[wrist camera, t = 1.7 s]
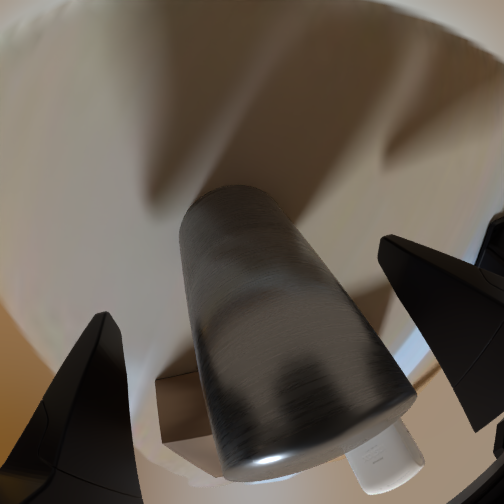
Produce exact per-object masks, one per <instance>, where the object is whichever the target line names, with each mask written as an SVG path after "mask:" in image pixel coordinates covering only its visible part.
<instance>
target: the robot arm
mask: <svg viewBox="0 0 504 504" xmlns="http://www.w3.org/2000/svg"><path fill="white" fill-rule="evenodd" d="M378 262H379V264H380V266H381V268H382V269H383V271H384V273H385V275H386V277H387V278H388V280H389V282H390V284H391V286H392V287H393V289H394V291H395V293H396V295H397V296H398V298H399V300H400V301H401V303H402V304H403V306H404V307H405V309H406V310H407V312H408V313H409V315H410V316H411V318H412V320H413V321H414V323H415V324H416V326H417V327H418V329H419V331H420V332H421V334H422V336H423V337H424V339H425V340H426V342H427V344H428V345H429V347H430V349H431V350H432V352H433V354H434V356H435V357H436V359H437V361H438V362H439V364H440V366H441V368H442V369H443V371H444V373H445V375H446V377H447V379H448V380H449V382H450V384H451V386H452V387H453V390H454V392H455V394H456V396H457V398H458V399H459V402H460V403H461V405H462V407H463V409H464V412H465V414H466V416H467V418H468V420H469V422H470V424H471V426H472V428H473V430H474V432H475V433H476V432H478V431H479V430H480V429H482V428H483V427H485V426H486V425H487V424H489V423H490V422H491V421H492V420H494V419H495V418H496V417H497V416H499V415H500V414H501V413H503V412H504V217H503V218H501V219H499V220H497V221H494V222H493V223H492V224H491V225H490V227H489V229H488V232H487V236H486V239H485V241H484V244H483V247H482V250H481V253H480V255H479V258H478V261H477V263H476V266H475V265H472V264H470V263H467V262H465V261H462V260H460V259H457V258H455V257H452V256H450V255H447V254H445V253H442V252H439V251H437V250H434V249H432V248H429V247H426V246H423V245H421V244H418V243H415V242H413V241H410V240H407V239H404V238H401V237H398V236H396V235H393V234H390V235H386V236H383V237H382V238H381V239H380V244H379V250H378ZM42 399H43V400H41V401H40V403H39V405H38V407H37V409H36V410H35V412H34V414H33V416H32V418H31V419H30V421H29V423H28V425H27V426H26V428H25V430H24V431H23V433H22V435H21V437H20V438H19V439H18V441H17V443H16V444H15V446H14V448H13V449H12V452H11V453H10V455H9V456H8V458H7V460H6V461H5V463H4V464H3V465H2V467H1V468H0V504H144V503H143V499H142V495H141V490H140V485H139V479H138V474H137V468H136V462H135V455H134V448H133V440H132V431H131V422H130V411H129V398H128V383H127V373H126V366H125V360H124V352H123V344H122V336H121V332H120V329H119V327H118V326H117V324H116V323H115V321H114V319H113V318H112V316H111V315H110V313H109V312H106V311H105V312H101V313H97V314H95V315H94V317H93V318H92V320H91V321H90V323H89V324H88V326H87V327H86V328H85V330H84V331H83V333H82V334H81V336H80V337H79V339H78V341H77V342H76V344H75V345H74V347H73V348H72V350H71V351H70V353H69V354H68V356H67V358H66V359H65V361H64V362H63V364H62V366H61V367H60V369H59V371H58V372H57V374H56V376H55V377H54V379H53V381H52V383H51V384H50V386H49V388H48V389H47V391H46V393H45V394H44V396H43V398H42ZM493 453H494V455H495V457H496V459H497V460H496V461H495V462H494V463H493V464H492V465H491V466H490V467H489V468H488V469H487V470H486V471H485V472H484V473H482V474H481V475H480V476H479V477H478V478H477V479H476V480H475V481H474V482H472V483H471V484H470V485H469V486H468V487H467V488H466V489H464V490H463V491H462V492H461V493H459V494H458V495H457V496H456V497H454V498H453V499H452V500H451V501H449V502H448V503H447V504H504V418H503V419H502V420H501V421H500V422H499V423H498V424H497V429H496V437H495V443H494V450H493Z"/></svg>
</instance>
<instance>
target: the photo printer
mask: <svg viewBox="0 0 504 504" xmlns="http://www.w3.org/2000/svg"><path fill="white" fill-rule="evenodd" d="M345 455H346V457H347V459H348V461H349V463H350V465H351V467H352V469H353V472H354V473H355V476H356V477H357V479H358V482H359V484H360V485H361V487H362V489H363V490H364V491H365V493H367V494H369V495H374V494H380V493H384V492H387V491H390V490H393V489H395V488H397V487H399V486H401V485H402V484H404V483H405V482H407V481H408V480H410V479H411V478H412V477H413V476H415V475H416V473H418V472H419V471H420V470H421V469H422V467H423V466H424V465H425V460H424V457H423V455H422V453H421V451H420V450H419V448H418V446H417V444H416V443H415V441H414V439H413V438H412V436H411V434H410V433H409V431H408V429H407V428H406V426H405V424H404V423H403V421H402V420H401V418H399V419H398V420H397V421H396V422H394V423H393V424H392V425H391V426H389V427H388V428H387V429H385V430H384V431H382V432H381V433H380V434H378V435H377V436H375V437H374V438H372V439H370V440H369V441H367V442H365V443H364V444H362V445H360V446H359V447H357V448H355V449H353V450H351V451H349V452H347V453H345Z"/></svg>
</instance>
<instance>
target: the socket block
mask: <svg viewBox="0 0 504 504" xmlns="http://www.w3.org/2000/svg"><path fill="white" fill-rule="evenodd" d="M155 387H156V398H157V407H158V416H159V424H160V432H161V439H162V444H164V445H165V446H167V447H168V448H169V449H171V450H172V451H174V452H175V453H177V454H178V455H180V456H181V457H183V458H184V459H186V460H187V461H189V462H190V463H192V464H194V465H195V466H197V467H198V468H200V469H202V470H203V471H205V472H207V473H208V474H210V475H212V476H214V477H215V478H217V477H222V476H223V473H222V469H221V466H220V462H219V458H218V454H217V450H216V447H215V443H214V439H213V435H212V430H211V426H210V422H209V418H208V413H207V409H206V404H205V400H204V395H203V390H202V385H201V380H200V375H199V371H197V372H193V373H189V374H184V375H180V376H175V377H170V378H165V379H160V380H155Z"/></svg>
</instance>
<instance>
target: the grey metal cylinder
mask: <svg viewBox="0 0 504 504" xmlns="http://www.w3.org/2000/svg"><path fill="white" fill-rule="evenodd" d="M179 244H180V253H181V261H182V270H183V277H184V285H185V292H186V299H187V306H188V313H189V319H190V325H191V331H192V337H193V343H194V349H195V354H196V360H197V365H198V370H199V375H200V380H201V385H202V390H203V395H204V400H205V404H206V409H207V413H208V418H209V422H210V426H211V430H212V435H213V439H214V443H215V447H216V450H217V454H218V458H219V462H220V466H221V469H222V473H223V476H224V478H225V479H226V480H229V481H233V482H253V481H262V480H268V479H273V478H278V477H282V476H286V475H290V474H294V473H297V472H301V471H304V470H307V469H310V468H312V467H315V466H317V465H320V464H323V463H325V462H328V461H330V460H332V459H335V458H337V457H339V456H341V455H343V454H345V453H347V452H349V451H351V450H353V449H355V448H357V447H359V446H360V445H362V444H364V443H365V442H367V441H369V440H370V439H372V438H374V437H375V436H377V435H378V434H380V433H381V432H382V431H384V430H385V429H387V428H388V427H389V426H391V425H392V424H393V423H394V422H396V421H397V420H398V419H399V418H400V417H401V416H402V415H403V414H404V413H405V412H406V411H407V410H408V409H409V408H410V407H411V406H412V405H413V403H414V402H415V400H416V398H417V393H416V391H415V390H414V388H413V386H412V385H411V383H410V382H409V380H408V379H407V377H406V376H405V374H404V373H403V371H402V370H401V368H400V367H399V365H398V364H397V363H396V361H395V360H394V358H393V357H392V355H391V354H390V352H389V351H388V349H387V348H386V347H385V345H384V344H383V342H382V341H381V339H380V338H379V337H378V335H377V334H376V332H375V331H374V329H373V328H372V327H371V325H370V324H369V323H368V321H367V320H366V318H365V317H364V316H363V314H362V313H361V311H360V310H359V309H358V307H357V306H356V305H355V303H354V302H353V301H352V299H351V298H350V296H349V295H348V294H347V292H346V291H345V290H344V288H343V287H342V286H341V284H340V283H339V282H338V280H337V279H336V278H335V277H334V275H333V274H332V273H331V271H330V270H329V269H328V267H327V266H326V265H325V263H324V262H323V261H322V260H321V258H320V257H319V256H318V254H317V253H316V252H315V251H314V249H313V248H312V247H311V246H310V244H309V243H308V242H307V240H306V239H305V238H304V237H303V235H302V234H301V233H300V232H299V230H298V229H297V228H296V227H295V226H294V224H293V223H292V222H291V221H290V219H289V218H288V217H287V216H286V214H285V213H284V212H283V211H282V210H281V208H280V207H279V206H278V205H277V203H276V202H275V201H274V200H273V199H272V198H271V197H270V196H269V195H267V194H266V193H264V192H263V191H261V190H259V189H256V188H254V187H249V186H243V185H231V186H225V187H221V188H218V189H215V190H213V191H211V192H209V193H207V194H205V195H204V196H202V197H201V198H200V199H198V200H197V201H196V202H195V203H194V204H193V205H192V206H191V207H190V209H189V210H188V211H187V213H186V215H185V216H184V218H183V221H182V223H181V227H180V231H179Z"/></svg>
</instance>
